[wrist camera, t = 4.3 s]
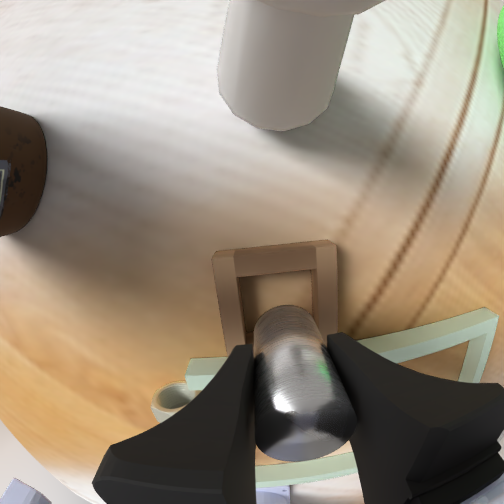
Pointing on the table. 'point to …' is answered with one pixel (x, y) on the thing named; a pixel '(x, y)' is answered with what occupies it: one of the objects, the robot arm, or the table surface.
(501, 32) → the toy bird
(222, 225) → the table surface
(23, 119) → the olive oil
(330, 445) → the pin
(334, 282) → the tan square frame
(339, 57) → the salt shaker
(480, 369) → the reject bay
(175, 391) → the pipe fitting
